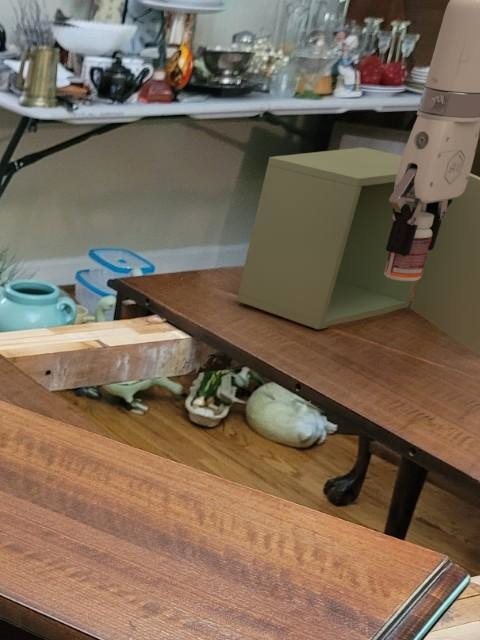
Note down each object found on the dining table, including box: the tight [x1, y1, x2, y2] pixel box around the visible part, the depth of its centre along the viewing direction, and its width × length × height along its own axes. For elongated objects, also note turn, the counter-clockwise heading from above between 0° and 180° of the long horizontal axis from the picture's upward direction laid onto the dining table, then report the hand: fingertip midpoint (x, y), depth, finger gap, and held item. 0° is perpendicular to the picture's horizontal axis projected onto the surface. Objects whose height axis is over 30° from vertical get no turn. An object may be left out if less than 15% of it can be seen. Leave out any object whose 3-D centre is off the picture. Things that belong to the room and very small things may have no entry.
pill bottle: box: [384, 212, 434, 282], centre depth 149 cm, size 5×5×8 cm
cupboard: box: [236, 146, 423, 330], centre depth 176 cm, size 16×24×22 cm, turn 125°
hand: (409, 249), depth 149 cm, fingers closed on pill bottle, 4 cm apart
